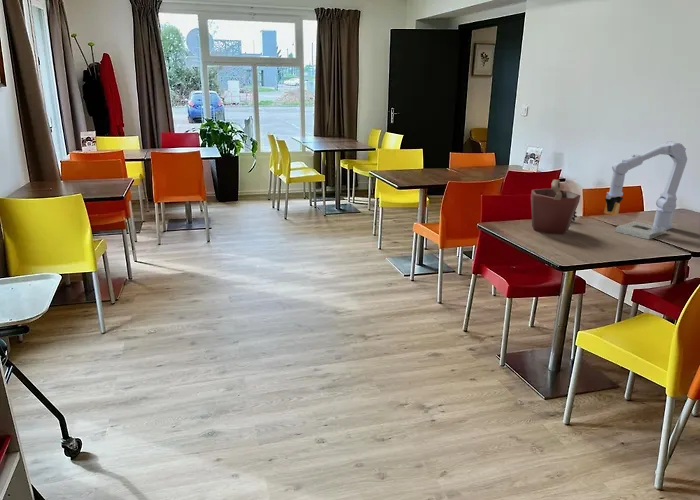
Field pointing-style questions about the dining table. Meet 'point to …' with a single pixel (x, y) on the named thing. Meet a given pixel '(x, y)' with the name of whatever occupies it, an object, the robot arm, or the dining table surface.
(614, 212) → the orange rectangular block
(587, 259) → the dining table surface
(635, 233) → the grey plate with hole
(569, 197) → the bucket
